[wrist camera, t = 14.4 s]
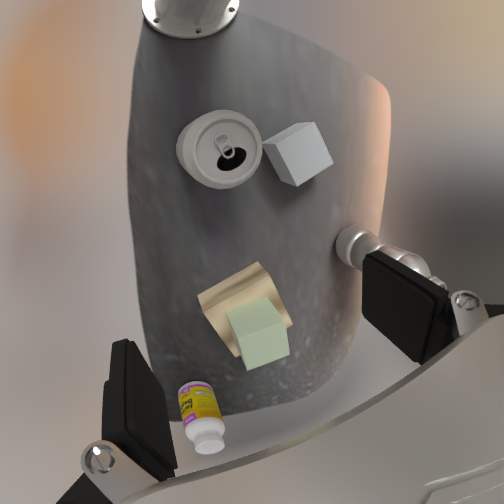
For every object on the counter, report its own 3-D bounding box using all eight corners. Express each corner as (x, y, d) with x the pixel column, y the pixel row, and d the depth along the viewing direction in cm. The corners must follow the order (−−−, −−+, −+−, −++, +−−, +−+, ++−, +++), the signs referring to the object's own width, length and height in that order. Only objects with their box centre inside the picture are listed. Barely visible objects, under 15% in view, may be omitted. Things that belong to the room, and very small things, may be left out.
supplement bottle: (185, 376, 46) (199, 434, 35) (218, 383, 49) (238, 438, 38) (171, 399, 47) (183, 455, 36) (203, 405, 50) (220, 458, 39)
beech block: (197, 294, 41) (202, 312, 37) (256, 260, 43) (269, 274, 38) (227, 338, 46) (235, 357, 42) (280, 307, 47) (292, 324, 43)
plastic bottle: (365, 222, 46) (459, 269, 29) (356, 259, 48) (441, 317, 31) (334, 219, 44) (432, 271, 26) (326, 260, 46) (413, 325, 29)
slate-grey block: (260, 143, 36) (275, 144, 32) (296, 123, 37) (314, 121, 32) (280, 181, 39) (297, 186, 35) (314, 160, 39) (333, 163, 35)
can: (194, 187, 36) (212, 208, 25) (164, 138, 32) (168, 134, 22) (244, 157, 36) (282, 165, 26) (217, 108, 33) (245, 93, 22)
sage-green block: (225, 311, 38) (237, 338, 33) (266, 296, 39) (284, 320, 34) (234, 343, 41) (247, 370, 35) (273, 329, 42) (289, 354, 37)
